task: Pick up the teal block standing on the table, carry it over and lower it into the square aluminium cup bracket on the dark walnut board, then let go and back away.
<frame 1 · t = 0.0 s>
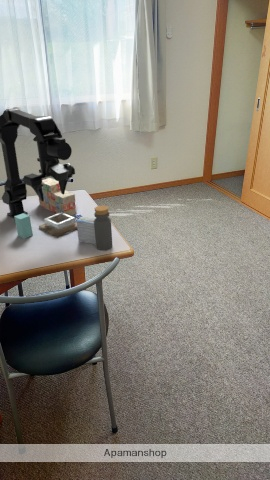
hand: (52, 197, 130), 15 cm above the table, tool pointing down, fingers open, 9 cm apart
bottle: (104, 247, 127), on the table, touching medicine box
medicine box: (90, 241, 131), on the table, touching bottle
cup bracket: (59, 221, 141), on the base board, point 2 cm above the table
base board: (60, 227, 142), on the table
teal block: (25, 235, 136), on the table
stack of blocks: (57, 209, 158), on the table
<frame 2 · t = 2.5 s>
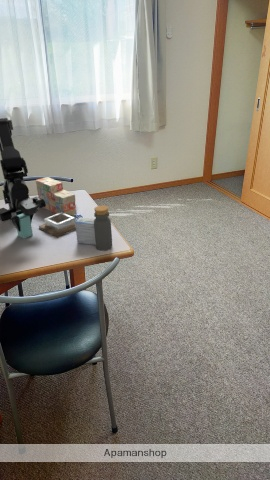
hand: (24, 229, 135), 3 cm above the table, tool pointing down, fingers closed on teal block, 4 cm apart
teal block: (25, 235, 136), on the table, touching gripper
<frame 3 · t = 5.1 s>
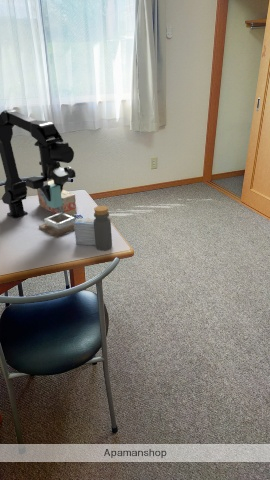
hand: (54, 199, 135), 12 cm above the table, tool pointing down, fingers closed on teal block, 4 cm apart
teal block: (55, 205, 137), point 10 cm above the table, touching gripper
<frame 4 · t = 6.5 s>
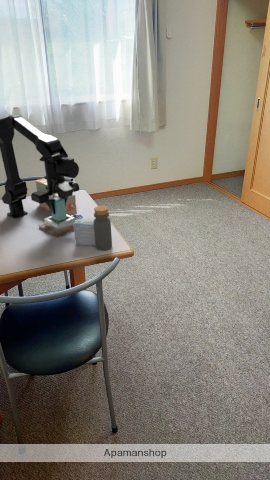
hand: (58, 212, 139), 6 cm above the table, tool pointing down, fingers closed on teal block, 4 cm apart
teal block: (59, 218, 140), point 4 cm above the table, touching gripper
when the fingers open (5 cm above the table, at t = 7.6 s): teal block drops 1 cm, resting on base board.
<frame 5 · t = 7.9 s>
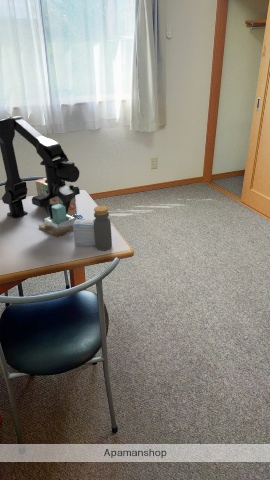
hand: (59, 215, 139), 5 cm above the table, tool pointing down, fingers open, 7 cm apart
teal block: (60, 225, 141), point 1 cm above the table, touching base board
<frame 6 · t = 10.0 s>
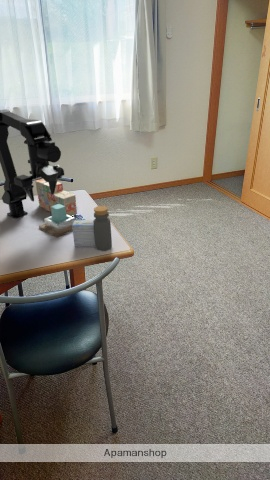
hand: (43, 197, 136), 13 cm above the table, tool pointing down, fingers open, 9 cm apart
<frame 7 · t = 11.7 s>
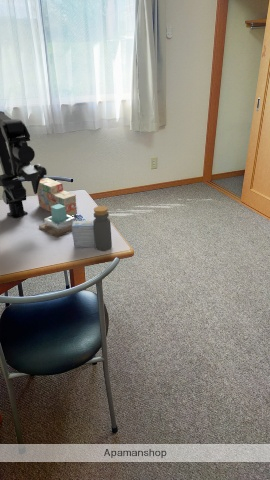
hand: (25, 197, 136), 13 cm above the table, tool pointing down, fingers open, 9 cm apart
at the end: teal block 0.1 cm off-centre on the cup bracket, point 1.0 cm above the cup bracket's base; teal block tilted 0°; the gripper is holding nothing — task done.
